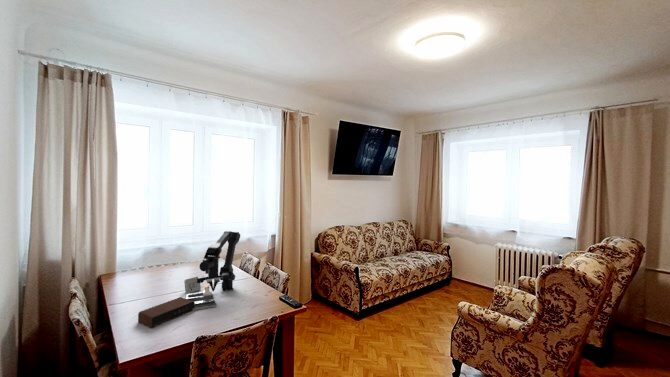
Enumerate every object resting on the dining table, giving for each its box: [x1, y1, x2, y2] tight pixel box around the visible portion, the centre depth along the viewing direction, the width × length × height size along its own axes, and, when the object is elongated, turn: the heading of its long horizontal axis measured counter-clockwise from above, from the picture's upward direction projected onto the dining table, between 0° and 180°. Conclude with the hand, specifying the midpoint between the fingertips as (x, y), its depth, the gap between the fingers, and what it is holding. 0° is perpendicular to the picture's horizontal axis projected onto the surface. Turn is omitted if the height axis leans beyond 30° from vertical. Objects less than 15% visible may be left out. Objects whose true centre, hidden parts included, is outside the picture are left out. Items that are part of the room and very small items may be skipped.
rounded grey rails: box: [192, 302, 217, 311], centre depth 165 cm, size 17×4×1 cm, turn 117°
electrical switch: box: [184, 275, 202, 294], centre depth 190 cm, size 9×5×9 cm, turn 141°
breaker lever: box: [202, 284, 212, 296], centre depth 177 cm, size 4×4×6 cm
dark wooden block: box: [137, 296, 195, 329], centre depth 154 cm, size 24×12×6 cm, turn 152°
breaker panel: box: [185, 289, 216, 306], centre depth 175 cm, size 16×18×4 cm
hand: (213, 291), depth 179 cm, fingers closed
